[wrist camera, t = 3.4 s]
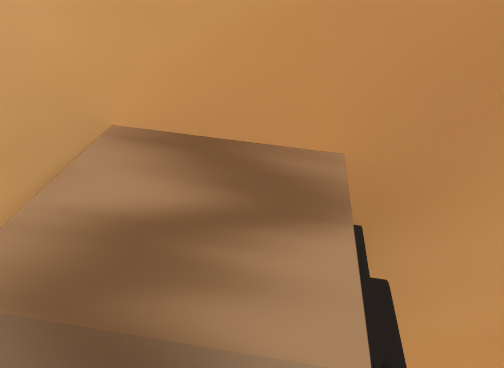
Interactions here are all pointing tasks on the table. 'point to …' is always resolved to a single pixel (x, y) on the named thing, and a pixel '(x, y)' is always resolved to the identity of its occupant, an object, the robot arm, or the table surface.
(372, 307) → the robot arm
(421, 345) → the table surface
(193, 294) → the walnut cube
